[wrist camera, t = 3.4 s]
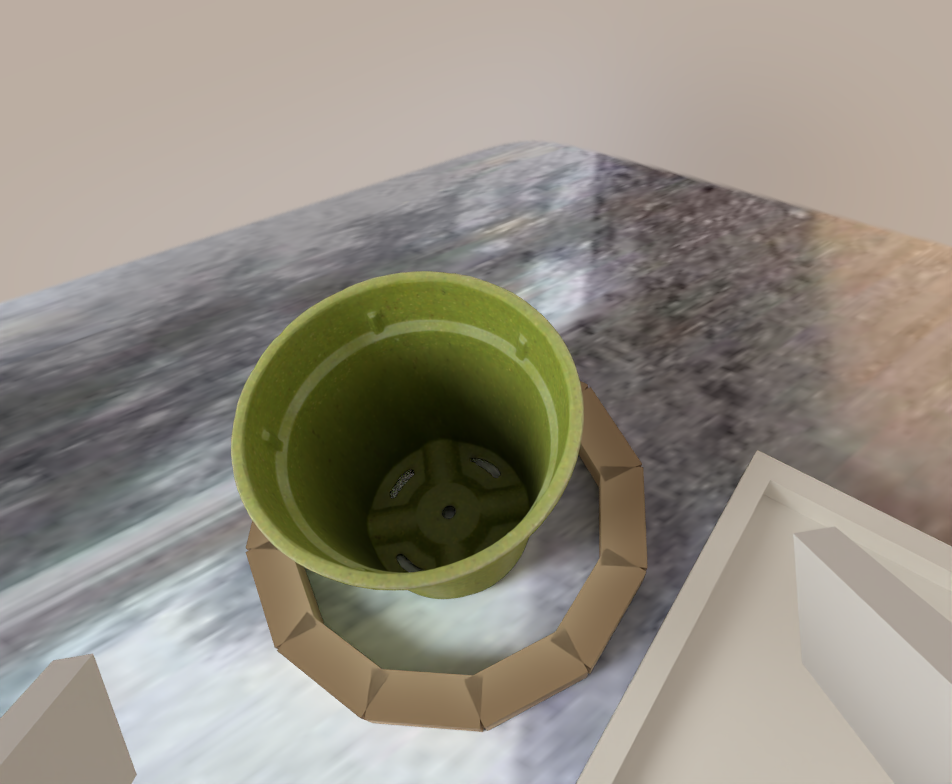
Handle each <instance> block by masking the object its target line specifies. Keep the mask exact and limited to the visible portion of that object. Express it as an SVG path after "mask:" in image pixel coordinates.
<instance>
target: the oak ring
mask: <svg viewBox="0 0 952 784" xmlns="http://www.w3.org/2000/svg"><path fill="white" fill-rule="evenodd" d="M580 384H581V389H582V395H583V404H584V423H583V433H582V440H581V445H580V450H579V456H580V458H581V459H582V461H583V462H584V464H585V466H586V467H587V469H588V470H589V472H590V474H591V475H592V477H593V479H594V480H595V482H596V483H597V485H598V487H599V560H598V562H597V564H596V565H595V567H594V569H593V570H592V572H591V574H590V575H589V577H588V579H587V580H586V582H585V584H584V585H583V587H582V589H581V590H580V592H579V594H578V595H577V597H576V599H575V600H574V602H573V604H572V605H571V607H570V609H569V610H568V612H567V614H566V615H565V617H564V618H563V620H562V622H561V623H560V625H559V627H558V628H557V630H556V632H554V633H552V634H550V635H549V636H547V637H545V638H543V639H541V640H539V641H537V642H535V643H533V644H532V645H530V646H528V647H526V648H524V649H522V650H520V651H518V652H516V653H514V654H513V655H511V656H509V657H507V658H505V659H503V660H501V661H499V662H497V663H495V664H494V665H492V666H490V667H488V668H486V669H484V670H482V671H480V672H478V673H477V674H475V675H459V674H445V673H431V672H416V671H402V670H388V669H382V668H380V667H379V666H378V665H376V664H375V663H374V662H373V661H371V660H370V659H369V658H367V657H366V656H365V655H363V654H362V653H361V652H359V651H358V650H357V649H356V648H354V647H353V646H352V645H350V644H349V643H348V642H346V641H345V640H344V639H342V638H341V637H340V636H339V635H337V634H336V633H335V632H333V631H332V630H331V629H329V628H328V627H327V626H325V625H324V622H323V619H322V617H321V614H320V611H319V608H318V605H317V602H316V599H315V596H314V594H313V591H312V588H311V585H310V582H309V579H308V576H307V574H306V571H305V568H304V567H303V566H302V565H300V564H298V563H297V562H295V561H293V560H292V559H290V558H289V557H288V556H286V555H285V554H284V553H282V552H281V551H280V550H279V549H278V548H276V547H275V546H274V545H273V544H272V543H271V542H270V541H269V540H268V539H267V538H266V537H265V535H264V534H263V533H262V532H261V531H260V530H259V528H258V527H257V526H256V524H255V523H254V522H253V520H252V525H251V529H250V533H249V537H248V541H247V545H246V549H247V550H249V551H247V552H246V555H247V558H248V561H249V564H250V568H251V571H252V574H253V578H254V581H255V584H256V587H257V591H258V594H259V597H260V600H261V604H262V607H263V610H264V614H265V617H266V620H267V623H268V627H269V630H270V633H271V636H272V640H273V643H274V646H275V648H277V649H278V650H277V651H278V652H279V653H280V654H282V655H283V656H284V657H285V658H287V659H288V660H289V661H290V662H292V663H293V664H294V665H295V666H297V667H298V668H299V669H300V670H301V671H303V672H304V673H305V674H306V675H308V676H309V677H310V678H311V679H313V680H314V681H315V682H316V683H318V684H319V685H320V686H321V687H323V688H324V689H325V690H326V691H327V692H329V693H330V694H331V695H332V696H334V697H335V698H336V699H337V700H339V701H340V702H341V703H342V704H344V705H345V706H346V707H347V708H348V709H350V710H351V711H352V712H353V713H355V714H356V715H357V716H358V717H360V718H361V719H364V720H367V721H369V722H372V723H379V724H391V725H404V726H416V727H429V728H441V729H454V730H466V731H479V732H483V728H485V729H486V730H487V731H488V730H490V729H492V728H494V727H496V726H498V725H500V724H501V723H503V722H505V721H507V720H509V719H511V718H512V717H514V716H516V715H518V714H520V713H522V712H524V711H525V710H527V709H529V708H531V707H533V706H535V705H537V704H538V703H540V702H542V701H544V700H546V699H548V698H549V697H551V696H553V695H555V694H557V693H559V692H561V691H562V690H564V689H566V688H568V687H570V686H572V685H573V684H575V683H577V682H579V681H581V680H583V679H585V678H586V677H587V674H588V673H589V674H590V673H591V671H592V670H593V668H594V666H595V664H596V663H597V661H598V659H599V657H600V656H601V654H602V652H603V650H604V649H605V647H606V645H607V643H608V641H609V640H610V638H611V636H612V634H613V633H614V631H615V629H616V627H617V626H618V624H619V622H620V620H621V619H622V617H623V615H624V613H625V612H626V610H627V608H628V606H629V604H630V603H631V601H632V599H633V597H634V596H635V594H636V592H637V590H638V589H639V587H640V585H641V583H642V582H643V579H644V577H645V574H646V570H647V546H646V522H645V499H644V476H643V467H641V465H642V463H641V462H640V460H639V459H638V457H637V456H636V454H635V453H634V451H633V450H632V448H631V447H630V445H629V444H628V442H627V441H626V439H625V438H624V436H623V435H622V433H621V432H620V430H619V429H618V427H617V426H616V424H615V423H614V421H613V420H612V418H611V417H610V415H609V414H608V412H607V411H606V409H605V408H604V406H603V405H602V403H601V402H600V400H599V399H598V397H597V396H596V394H595V393H594V392H593V390H592V389H591V387H590V388H588V385H587V384H585V383H583V382H581V381H580Z"/></svg>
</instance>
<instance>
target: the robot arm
mask: <svg viewBox="0 0 952 784" xmlns="http://www.w3.org/2000/svg"><path fill="white" fill-rule="evenodd" d="M793 539H794V553H795V568H796V583H797V598H798V613H799V627H800V642H801V657H802V664H803V665H804V666H805V668H806V669H807V670H808V671H809V673H810V674H811V675H812V677H813V678H814V679H815V681H816V682H817V683H818V685H819V686H820V687H821V688H822V690H823V691H824V692H825V694H826V695H827V696H828V698H829V699H830V700H831V701H832V703H833V704H834V705H835V707H836V708H837V709H838V711H839V712H840V713H841V715H842V716H843V717H844V718H845V720H846V721H847V722H848V724H849V725H850V726H851V728H852V729H853V730H854V731H855V733H856V734H857V735H858V737H859V738H860V739H861V741H862V742H863V743H864V745H865V746H866V747H867V748H868V750H869V751H870V752H871V754H872V755H873V756H874V758H875V759H876V760H877V761H878V763H879V764H880V765H881V767H882V768H883V769H884V771H885V772H886V773H887V775H888V776H889V777H890V778H891V780H892V781H893V782H894V784H952V623H951V622H950V621H949V620H947V619H946V618H945V617H944V616H943V615H941V614H940V613H939V612H938V611H937V610H935V609H934V608H933V607H932V606H931V605H929V604H928V603H927V602H926V601H924V600H923V599H922V598H921V597H920V596H918V595H917V594H916V593H915V592H914V591H912V590H911V589H910V588H909V587H908V586H906V585H905V584H904V583H903V582H902V581H900V580H899V579H898V578H897V577H895V576H894V575H893V574H892V573H891V572H889V571H888V570H887V569H886V568H885V567H883V566H882V565H881V564H880V563H879V562H877V561H876V560H875V559H874V558H873V557H871V556H870V555H869V554H868V553H866V552H865V551H864V550H863V549H862V548H860V547H859V546H858V545H857V544H856V543H854V542H853V541H852V540H851V539H850V538H848V537H847V536H846V535H845V534H844V533H842V532H841V531H840V530H839V529H837V528H836V527H835V526H834V527H828V528H822V529H816V530H811V531H805V532H799V533H793ZM136 775H137V774H136V772H135V769H134V766H133V763H132V761H131V758H130V755H129V752H128V749H127V747H126V744H125V741H124V738H123V735H122V733H121V730H120V727H119V724H118V722H117V719H116V716H115V713H114V710H113V708H112V705H111V702H110V699H109V697H108V694H107V691H106V688H105V685H104V683H103V680H102V677H101V674H100V672H99V669H98V666H97V663H96V660H95V658H94V655H93V654H88V655H83V656H77V657H71V658H65V659H59V660H53V661H52V662H51V663H50V664H49V666H48V667H47V668H46V669H45V670H44V671H43V672H42V673H41V674H40V675H39V677H38V678H37V679H36V680H35V681H34V682H33V683H32V684H31V685H30V687H29V688H28V689H27V690H26V691H25V692H24V693H23V694H22V695H21V696H20V698H19V699H18V700H17V701H16V702H15V703H14V704H13V705H12V706H11V707H10V709H9V710H8V711H7V712H6V713H5V714H4V715H3V716H2V717H1V718H0V784H132V782H133V780H134V778H135V777H136Z"/></svg>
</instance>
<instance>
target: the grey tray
mask: <svg viewBox="0 0 952 784" xmlns="http://www.w3.org/2000/svg"><path fill="white" fill-rule="evenodd" d="M834 526H835V527H836V528H837V529H839V530H840V531H841V532H842V533H844V534H845V535H846V536H847V537H848V538H850V539H851V540H852V541H853V542H854V543H856V544H857V545H858V546H859V547H860V548H862V549H863V550H864V551H865V552H866V553H868V554H869V555H870V556H871V557H873V558H874V559H875V560H876V561H877V562H879V563H880V564H881V565H882V566H883V567H885V568H886V569H887V570H888V571H889V572H891V573H892V574H893V575H894V576H895V577H897V578H898V579H899V580H900V581H902V582H903V583H904V584H905V585H906V586H908V587H909V588H910V589H911V590H912V591H914V592H915V593H916V594H917V595H918V596H920V597H921V598H922V599H923V600H924V601H926V602H927V603H928V604H929V605H931V606H932V607H933V608H934V609H935V610H937V611H938V612H939V613H940V614H941V615H943V616H944V617H945V618H946V619H947V620H949V621H950V622H951V623H952V546H950V545H948V544H946V543H944V542H942V541H940V540H938V539H936V538H934V537H932V536H930V535H928V534H926V533H923V532H921V531H919V530H917V529H915V528H913V527H911V526H909V525H907V524H905V523H903V522H901V521H899V520H897V519H895V518H893V517H891V516H889V515H887V514H885V513H883V512H881V511H879V510H877V509H875V508H873V507H871V506H869V505H867V504H865V503H863V502H861V501H859V500H857V499H855V498H853V497H851V496H849V495H847V494H845V493H843V492H841V491H839V490H837V489H835V488H833V487H831V486H829V485H827V484H825V483H823V482H821V481H819V480H817V479H815V478H813V477H811V476H809V475H807V474H805V473H803V472H801V471H799V470H797V469H795V468H793V467H791V466H789V465H787V464H785V463H783V462H781V461H779V460H777V459H774V458H772V457H770V456H768V455H766V454H764V453H762V452H760V451H758V450H757V451H756V453H755V454H754V456H753V458H752V460H751V461H750V463H749V465H748V467H747V468H746V470H745V472H744V474H743V475H742V477H741V479H740V481H739V483H738V485H737V486H736V488H735V490H734V492H733V494H732V496H731V498H730V499H729V501H728V503H727V505H726V507H725V509H724V511H723V512H722V514H721V516H720V518H719V520H718V522H717V523H716V525H715V527H714V529H713V531H712V533H711V535H710V536H709V538H708V540H707V542H706V544H705V546H704V547H703V549H702V551H701V553H700V555H699V557H698V559H697V560H696V562H695V564H694V566H693V568H692V570H691V571H690V573H689V575H688V577H687V579H686V581H685V583H684V584H683V586H682V588H681V590H680V592H679V594H678V595H677V597H676V599H675V601H674V603H673V605H672V607H671V608H670V610H669V612H668V614H667V616H666V618H665V619H664V621H663V623H662V625H661V627H660V629H659V631H658V632H657V634H656V636H655V638H654V640H653V642H652V644H651V645H650V647H649V649H648V651H647V653H646V655H645V656H644V658H643V660H642V662H641V664H640V666H639V668H638V669H637V671H636V673H635V675H634V677H633V679H632V680H631V682H630V684H629V686H628V688H627V690H626V692H625V693H624V695H623V697H622V699H621V701H620V703H619V704H618V706H617V708H616V710H615V712H614V714H613V716H612V717H611V719H610V721H609V723H608V725H607V727H606V728H605V730H604V732H603V734H602V736H601V738H600V740H599V741H598V743H597V745H596V747H595V749H594V751H593V753H592V754H591V756H590V758H589V760H588V762H587V764H586V765H585V767H584V769H583V771H582V773H581V775H580V777H579V778H578V780H577V782H576V784H894V782H893V781H892V780H891V778H890V777H889V776H888V775H887V773H886V772H885V771H884V769H883V768H882V767H881V765H880V764H879V763H878V761H877V760H876V759H875V758H874V756H873V755H872V754H871V752H870V751H869V750H868V748H867V747H866V746H865V745H864V743H863V742H862V741H861V739H860V738H859V737H858V735H857V734H856V733H855V731H854V730H853V729H852V728H851V726H850V725H849V724H848V722H847V721H846V720H845V718H844V717H843V716H842V715H841V713H840V712H839V711H838V709H837V708H836V707H835V705H834V704H833V703H832V701H831V700H830V699H829V698H828V696H827V695H826V694H825V692H824V691H823V690H822V688H821V687H820V686H819V685H818V683H817V682H816V681H815V679H814V678H813V677H812V675H811V674H810V673H809V671H808V670H807V669H806V668H805V666H804V665H803V664H802V657H801V642H800V627H799V613H798V598H797V583H796V568H795V553H794V539H793V533H799V532H805V531H811V530H816V529H822V528H828V527H834Z"/></svg>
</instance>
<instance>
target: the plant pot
mask: <svg viewBox="0 0 952 784" xmlns="http://www.w3.org/2000/svg"><path fill="white" fill-rule="evenodd" d="M583 423H584V404H583V395H582V389H581V384H580V380H579V376H578V373H577V370H576V367H575V364H574V361H573V359H572V356H571V354H570V352H569V350H568V348H567V346H566V344H565V343H564V341H563V339H562V338H561V336H560V335H559V333H558V332H557V331H556V330H555V328H554V327H553V326H552V325H551V324H550V323H549V321H548V320H547V319H546V318H545V317H544V316H543V315H542V314H540V313H539V312H538V311H537V310H536V309H535V308H533V307H532V306H531V305H530V304H528V303H527V302H526V301H524V300H523V299H522V298H520V297H518V296H517V295H515V294H514V293H512V292H510V291H508V290H506V289H504V288H501V287H499V286H496V285H494V284H491V283H489V282H486V281H483V280H480V279H477V278H474V277H470V276H466V275H459V274H456V273H455V274H450V273H444V272H432V271H416V272H405V273H397V274H390V275H386V276H381V277H376V278H372V279H369V280H366V281H363V282H360V283H357V284H355V285H353V286H350V287H348V288H346V289H344V290H343V291H340V292H338V293H336V294H334V295H332V296H329V297H327V298H325V299H324V300H322V301H320V302H319V303H317V304H315V305H314V306H312V307H310V308H309V309H307V310H306V311H305V312H303V313H302V314H301V315H300V316H298V317H297V318H296V319H295V320H294V321H293V322H292V323H290V324H289V325H288V326H287V327H286V328H285V329H284V330H283V332H282V333H281V334H280V335H279V336H278V337H277V338H275V339H274V340H273V341H272V343H271V344H270V345H269V346H268V348H267V349H266V350H265V352H264V353H263V354H262V355H261V357H260V359H259V361H258V362H257V364H256V366H255V368H254V370H253V371H252V372H251V374H250V376H249V377H248V379H247V381H246V383H245V385H244V388H243V390H242V393H241V396H240V398H239V400H238V404H237V408H236V415H235V419H234V423H233V431H232V438H231V458H232V465H233V472H234V477H235V482H236V486H237V489H238V492H239V494H240V497H241V500H242V502H243V504H244V506H245V508H246V510H247V512H248V514H249V515H250V517H251V519H252V520H253V522H254V523H255V524H256V526H257V527H258V528H259V530H260V531H261V532H262V533H263V534H264V535H265V537H266V538H267V539H268V540H269V541H270V542H271V543H272V544H273V545H274V546H275V547H276V548H278V549H279V550H280V551H281V552H282V553H284V554H285V555H286V556H288V557H289V558H290V559H292V560H293V561H295V562H297V563H298V564H300V565H302V566H303V567H305V568H307V569H309V570H311V571H313V572H315V573H317V574H319V575H322V576H324V577H327V578H329V579H332V580H335V581H338V582H341V583H344V584H348V585H352V586H356V587H362V588H368V589H374V590H409V591H411V592H413V593H416V594H418V595H421V596H425V597H428V598H435V599H451V598H459V597H464V596H467V595H471V594H474V593H478V592H481V591H483V590H485V589H487V588H489V587H491V586H492V585H494V584H495V583H497V582H498V581H499V580H501V579H502V578H503V577H504V576H505V575H506V574H507V573H508V572H509V571H510V570H511V569H512V568H513V567H514V565H515V564H516V563H517V561H518V560H519V558H520V557H521V555H522V553H523V551H524V549H525V547H526V544H527V542H528V539H529V537H530V536H531V535H532V534H533V533H534V532H535V531H536V530H537V529H538V527H539V526H540V525H541V524H542V523H543V522H544V521H545V519H546V518H547V517H548V515H549V514H550V513H551V512H552V510H553V509H554V507H555V506H556V504H557V503H558V501H559V499H560V498H561V496H562V494H563V492H564V490H565V488H566V486H567V485H568V482H569V480H570V478H571V476H572V473H573V470H574V467H575V464H576V462H577V458H578V454H579V450H580V445H581V440H582V433H583ZM470 458H472V459H473V458H479V459H483V460H486V461H488V462H490V463H492V464H493V465H494V466H495V467H497V468H498V469H499V471H500V474H501V475H500V476H499V478H494V477H493V476H492V475H491V474H490V473H488V472H487V471H486V470H484V469H483V468H481V467H480V466H477V465H476V464H475V462H471V461H470ZM410 469H411V470H414V475H413V476H412V477H411V478H410V479H409V480H408V482H406V483H405V485H404V486H403V487H402V488H401V490H400V491H399V492H398V494H397V496H396V498H393V499H392V498H391V496H390V491H391V489H392V488H393V487H394V485H395V484H396V483H397V481H398V478H399V477H400V476H401V475H402V474H403V473H404V472H405V471H407V470H410ZM447 506H452V507H454V508H455V511H456V512H455V515H454V516H453V517H452V518H450V519H446V518H444V517H443V515H442V511H443V510H444V508H445V507H447ZM508 532H509V533H508ZM507 533H508V534H507ZM398 554H403V555H404V556H405V557H406V558H407V559H408V560H409V561H410V562H411V563H413V564H414V565H415V566H417V567H418V568H420V569H423V570H425V571H418V572H410V573H409V572H408V571H406V570H405V569H403V568H402V567H401V566H400V565H399V563H398V562H397V555H398Z"/></svg>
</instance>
